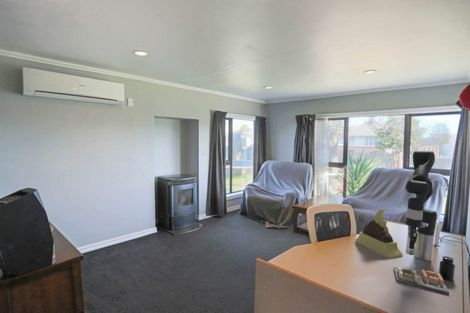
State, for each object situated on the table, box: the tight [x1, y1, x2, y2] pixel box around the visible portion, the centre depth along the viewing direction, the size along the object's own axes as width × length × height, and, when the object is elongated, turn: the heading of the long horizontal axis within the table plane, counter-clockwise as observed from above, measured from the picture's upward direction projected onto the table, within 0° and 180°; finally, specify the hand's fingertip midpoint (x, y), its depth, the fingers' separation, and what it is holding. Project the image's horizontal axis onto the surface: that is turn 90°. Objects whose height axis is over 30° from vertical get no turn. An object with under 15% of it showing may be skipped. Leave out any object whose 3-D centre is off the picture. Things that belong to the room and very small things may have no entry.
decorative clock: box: [355, 208, 404, 259], centre depth 188 cm, size 28×13×30 cm, turn 22°
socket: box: [420, 269, 445, 286], centre depth 146 cm, size 8×8×3 cm
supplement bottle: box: [438, 255, 456, 282], centre depth 152 cm, size 7×7×12 cm
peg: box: [405, 234, 416, 256], centre depth 146 cm, size 4×4×10 cm
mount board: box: [393, 266, 450, 296], centre depth 147 cm, size 16×23×4 cm
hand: (410, 246), depth 146 cm, fingers closed on peg, 4 cm apart
